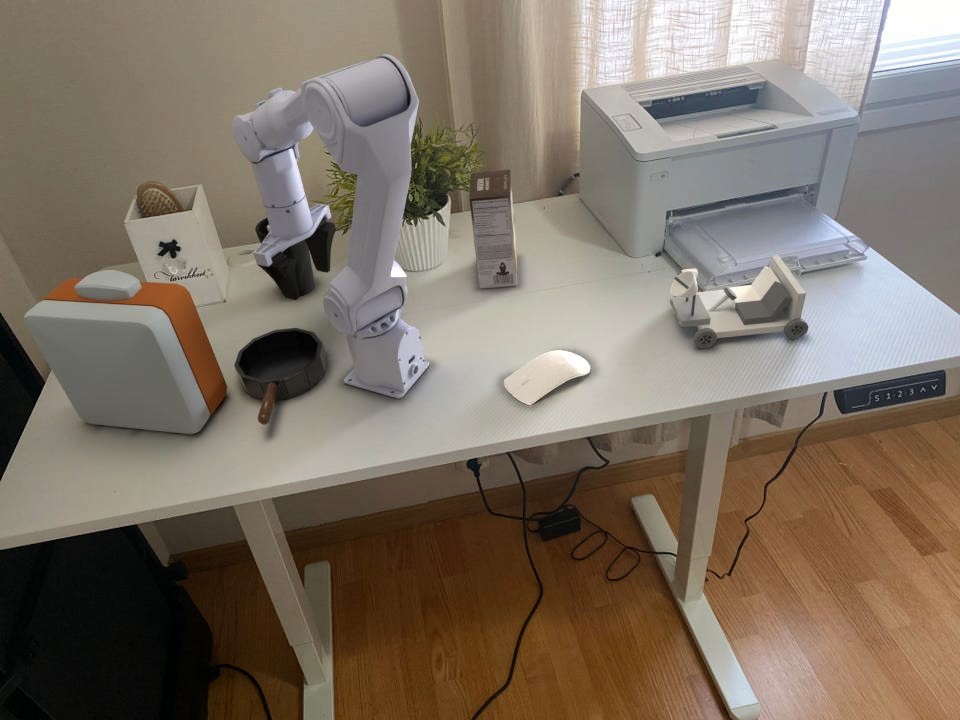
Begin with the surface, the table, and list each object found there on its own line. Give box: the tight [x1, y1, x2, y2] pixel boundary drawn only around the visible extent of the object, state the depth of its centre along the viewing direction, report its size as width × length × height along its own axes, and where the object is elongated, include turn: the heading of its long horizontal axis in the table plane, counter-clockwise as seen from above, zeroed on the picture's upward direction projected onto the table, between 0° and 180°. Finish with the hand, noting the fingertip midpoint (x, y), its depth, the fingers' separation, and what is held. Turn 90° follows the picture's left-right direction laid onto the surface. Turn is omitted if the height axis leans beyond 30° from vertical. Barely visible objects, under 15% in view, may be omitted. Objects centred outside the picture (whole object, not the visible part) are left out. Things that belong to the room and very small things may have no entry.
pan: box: [233, 327, 328, 425], centre depth 101 cm, size 19×12×4 cm, turn 3°
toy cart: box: [669, 254, 809, 349], centre depth 102 cm, size 18×10×12 cm
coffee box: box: [469, 168, 518, 289], centre depth 116 cm, size 9×6×16 cm
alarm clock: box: [23, 269, 228, 435], centre depth 95 cm, size 18×9×21 cm, turn 77°
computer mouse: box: [503, 349, 591, 407], centre depth 98 cm, size 7×12×2 cm, turn 122°
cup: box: [254, 217, 316, 298], centre depth 119 cm, size 8×8×12 cm
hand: (308, 283), depth 107 cm, fingers open, 7 cm apart
